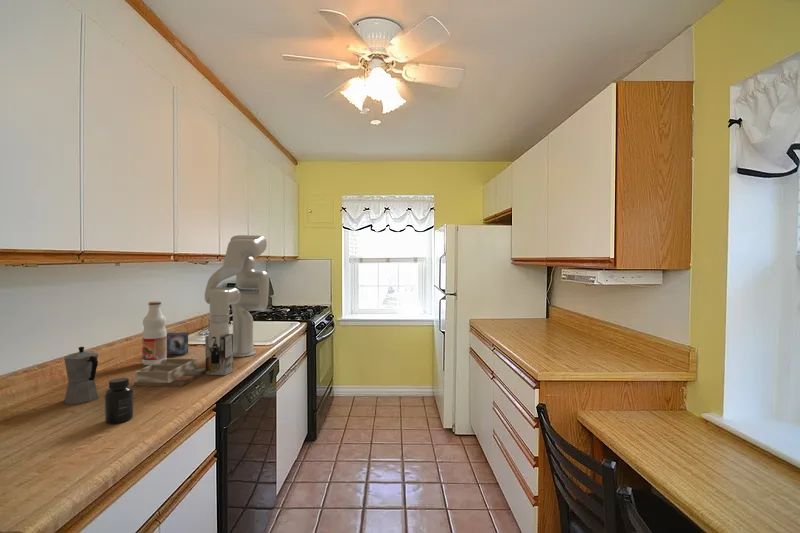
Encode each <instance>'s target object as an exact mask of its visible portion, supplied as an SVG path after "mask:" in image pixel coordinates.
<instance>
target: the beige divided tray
mask: <svg viewBox="0 0 800 533" xmlns="http://www.w3.org/2000/svg"><path fill="white" fill-rule="evenodd" d="M197 361H198V360H197V358H171V357H170V358H169V357H168V358H166V359H164V360H161V361H159V362H157V363H154V364H152V365H146V366H145V367H143V368H141V369H139V370H136V371H134V386H135V387H137V386H139V387H183V386H185V385H187V384H189V383H190V382H192V381H194V380H196V379H197V378H199V377H200V376H201V377H202V376H203V375H204V374H206V367H197V365H198V364H197V363H198V362H197Z"/></svg>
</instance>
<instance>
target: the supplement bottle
mask: <svg viewBox="0 0 800 533" xmlns="http://www.w3.org/2000/svg"><path fill="white" fill-rule="evenodd" d="M129 385H130V380H129V377H117V378H114V379H111V380H109V382H108V389H107V391H106V392H105V393H104V416H105V418H104V420H105V423H107V424H109V425H115V424H116V425H117V424H121V423H124V422H127V421H130V420H131V419H132V418H133V417H134V389H133V388H132V386H129Z"/></svg>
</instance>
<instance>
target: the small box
mask: <svg viewBox="0 0 800 533" xmlns="http://www.w3.org/2000/svg"><path fill="white" fill-rule="evenodd" d="M187 354H189V332H186V331H185V332H167V357H174V356H186V355H187Z"/></svg>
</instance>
